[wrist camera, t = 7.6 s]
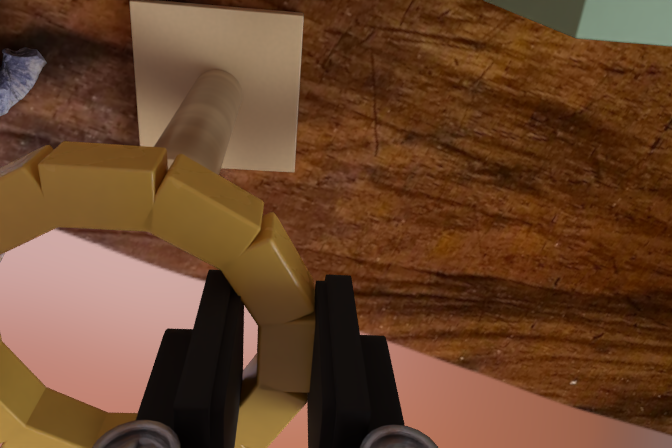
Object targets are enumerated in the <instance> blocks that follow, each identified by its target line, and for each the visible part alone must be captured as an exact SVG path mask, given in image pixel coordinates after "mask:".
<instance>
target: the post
mask: <svg viewBox="0 0 672 448" xmlns="http://www.w3.org/2000/svg"><path fill="white" fill-rule="evenodd" d="M129 4H130V17H131V31H132V45H133V58H134V72H135V86H136V99H137V113H138V126H139V140H140V146H146V147H162V148H166V150H167V162H168V169H169V168H170V166H171V165H172V163H173V161H174V160H175V158H176V156H177V155H178V154H183V155H185V156H187V157H188V158H190V159H192V160H193V161H195V162H197V163H199V164H200V165H202V166H204V167H205V168H207V169H209V170H211V171H212V172H214V173H216V174H217V175H219V173H220V170H221V168H228V169H245V170H262V171H279V172H294V171H295V155H296V138H297V122H298V105H299V88H300V71H301V54H302V37H303V20H304V14H303V13H300V12H288V11H277V10H265V9H253V8H241V7H230V6H218V5H206V4H194V3H183V2H171V1H159V0H131V1H130V2H129Z"/></svg>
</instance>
